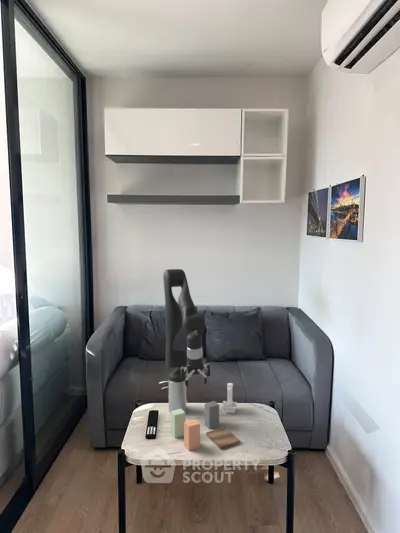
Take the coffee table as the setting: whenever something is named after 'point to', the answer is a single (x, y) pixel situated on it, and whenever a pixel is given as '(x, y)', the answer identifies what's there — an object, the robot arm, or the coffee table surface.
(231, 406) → the figurine
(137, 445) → the coffee table surface
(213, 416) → the charcoal brick
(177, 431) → the sage brick
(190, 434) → the terracotta brick
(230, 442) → the walnut board
